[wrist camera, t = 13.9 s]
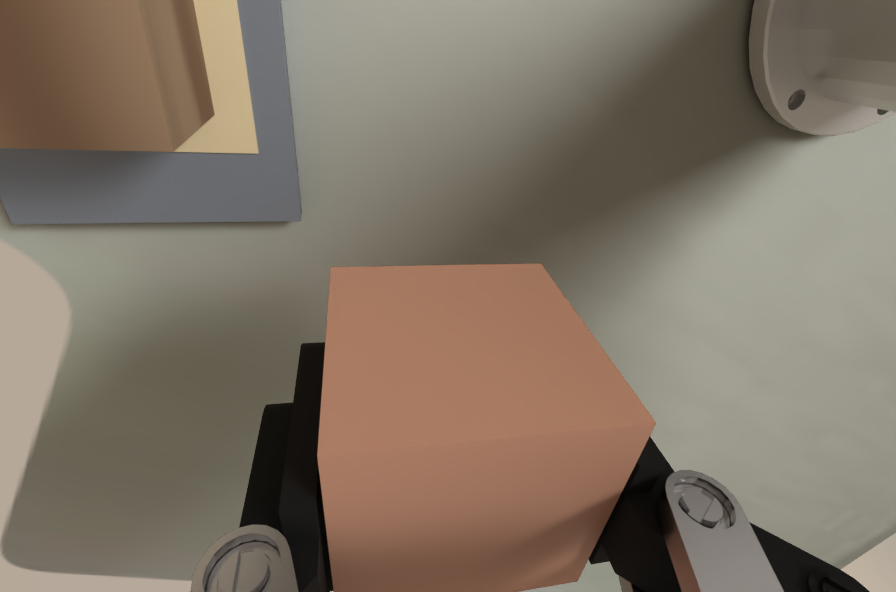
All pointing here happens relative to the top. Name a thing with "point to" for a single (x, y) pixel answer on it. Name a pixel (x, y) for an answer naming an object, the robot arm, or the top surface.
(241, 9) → the board
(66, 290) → the top surface
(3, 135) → the walnut block
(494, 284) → the terracotta block
